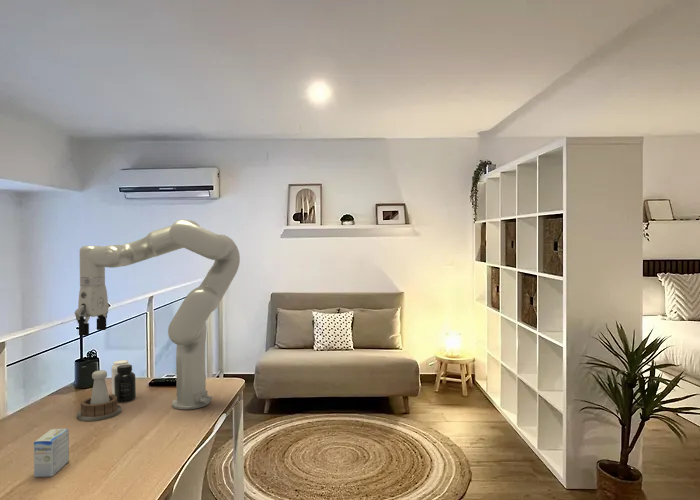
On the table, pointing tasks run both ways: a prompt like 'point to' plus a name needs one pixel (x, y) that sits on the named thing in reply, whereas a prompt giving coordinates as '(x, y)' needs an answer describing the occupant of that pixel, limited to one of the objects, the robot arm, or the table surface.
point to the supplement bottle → (125, 384)
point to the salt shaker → (99, 388)
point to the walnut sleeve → (99, 410)
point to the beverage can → (114, 371)
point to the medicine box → (51, 452)
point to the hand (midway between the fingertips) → (92, 332)
